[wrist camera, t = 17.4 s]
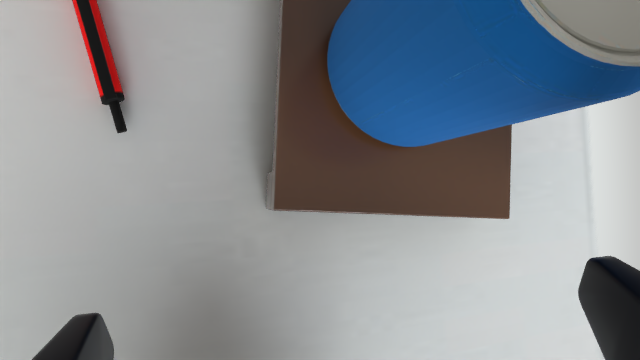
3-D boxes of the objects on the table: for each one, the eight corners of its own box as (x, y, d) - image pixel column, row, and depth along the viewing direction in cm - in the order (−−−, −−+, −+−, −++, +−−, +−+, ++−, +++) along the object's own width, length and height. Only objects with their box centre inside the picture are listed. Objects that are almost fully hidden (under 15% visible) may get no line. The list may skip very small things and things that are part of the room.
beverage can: (493, 121, 22) (814, 35, 10) (353, 169, 21) (539, 134, 9) (445, -27, 22) (718, -285, 10) (300, 13, 21) (422, -233, 9)
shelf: (474, 216, 25) (510, 219, 22) (265, 208, 23) (273, 210, 20) (481, -30, 26) (516, -60, 23) (277, -59, 24) (286, -96, 21)
